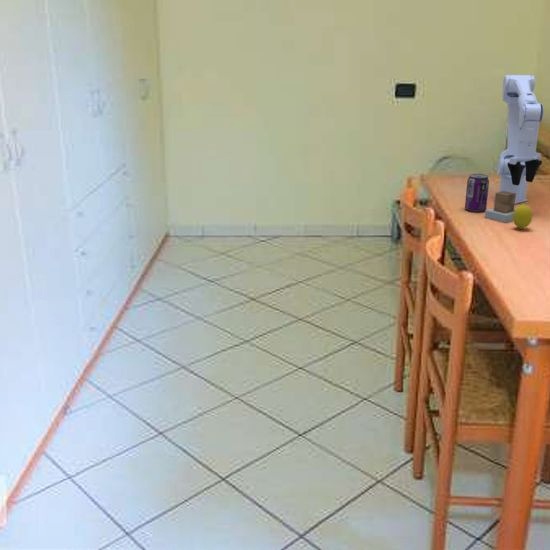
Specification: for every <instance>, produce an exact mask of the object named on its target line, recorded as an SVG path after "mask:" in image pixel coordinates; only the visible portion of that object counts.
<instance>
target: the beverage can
mask: <svg viewBox="0 0 550 550" xmlns="http://www.w3.org/2000/svg"><path fill="white" fill-rule="evenodd" d="M468 175H469V176H468V178H467V182H466V191H465V201H464V203H465V204H464V208H465V209H466V210H467V211H469V212H473V213H480V212H483V211H485V210H487V206H488V195H489V189H490V188H489V185H490V180H489V175H488V174H483V173H470V174H468Z"/></svg>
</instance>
